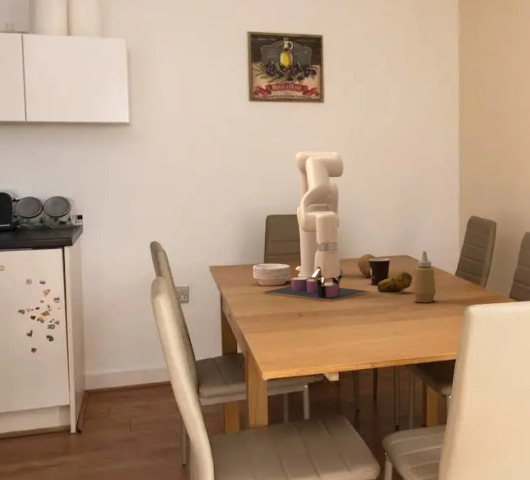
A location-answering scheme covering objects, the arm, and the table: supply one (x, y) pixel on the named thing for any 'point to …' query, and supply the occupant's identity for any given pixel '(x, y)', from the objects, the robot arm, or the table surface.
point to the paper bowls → (271, 273)
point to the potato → (395, 282)
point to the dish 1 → (299, 283)
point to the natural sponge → (365, 264)
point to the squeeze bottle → (424, 281)
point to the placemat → (289, 291)
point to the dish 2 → (331, 290)
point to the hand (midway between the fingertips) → (328, 294)
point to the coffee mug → (379, 269)
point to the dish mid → (311, 286)
